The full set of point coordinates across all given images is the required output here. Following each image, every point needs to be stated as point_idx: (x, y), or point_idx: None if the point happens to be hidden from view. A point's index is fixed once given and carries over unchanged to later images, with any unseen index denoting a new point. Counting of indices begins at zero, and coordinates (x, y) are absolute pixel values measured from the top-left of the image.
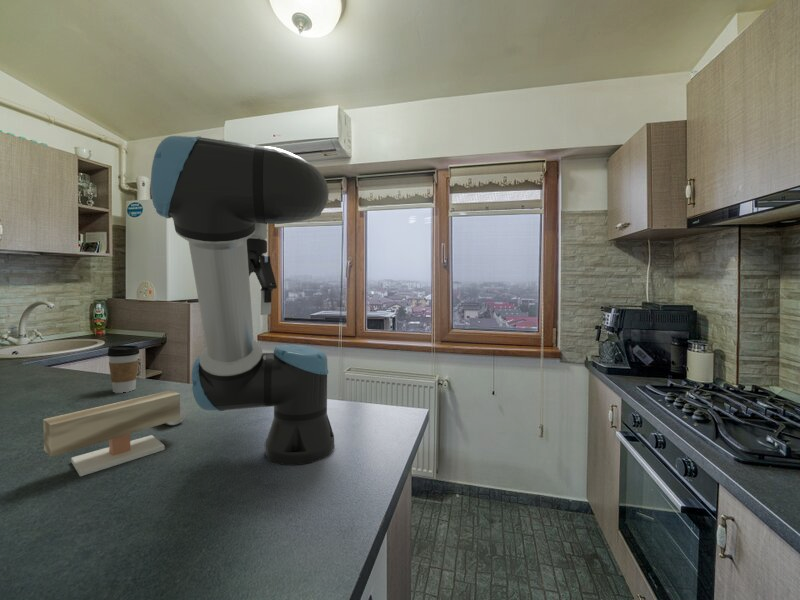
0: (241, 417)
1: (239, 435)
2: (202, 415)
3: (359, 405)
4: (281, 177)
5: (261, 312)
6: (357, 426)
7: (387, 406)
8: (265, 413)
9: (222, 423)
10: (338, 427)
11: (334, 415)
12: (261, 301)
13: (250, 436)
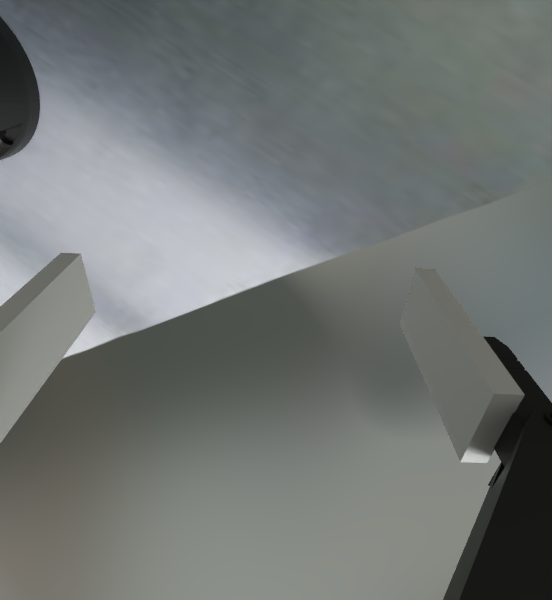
0: (241, 94)
1: (123, 12)
2: (346, 18)
3: (114, 324)
4: None
5: (59, 260)
6: (7, 242)
7: (71, 351)
8: (221, 156)
9: (238, 27)
10: (24, 213)
11: (95, 254)
12: (12, 306)
13: (98, 31)
